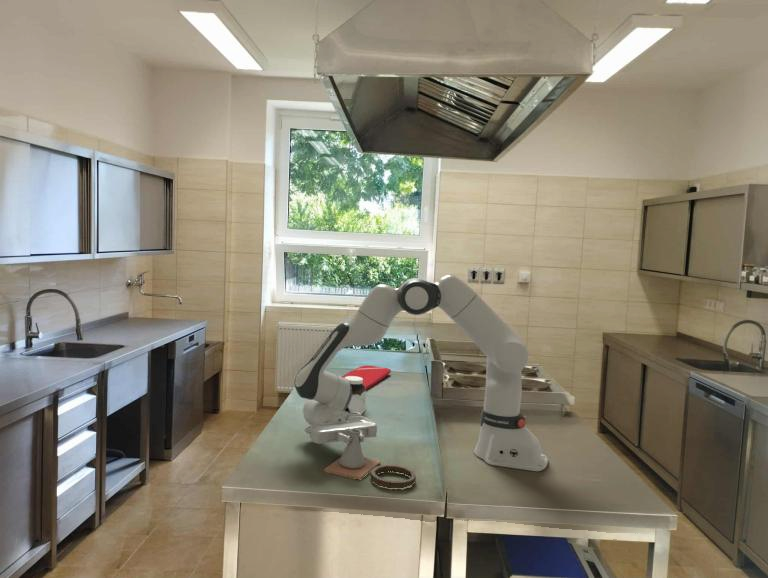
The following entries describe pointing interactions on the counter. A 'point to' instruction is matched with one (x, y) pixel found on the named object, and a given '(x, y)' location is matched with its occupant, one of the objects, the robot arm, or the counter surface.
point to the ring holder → (392, 484)
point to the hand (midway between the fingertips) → (356, 440)
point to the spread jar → (357, 395)
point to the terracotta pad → (352, 473)
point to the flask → (353, 452)
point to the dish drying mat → (369, 374)
